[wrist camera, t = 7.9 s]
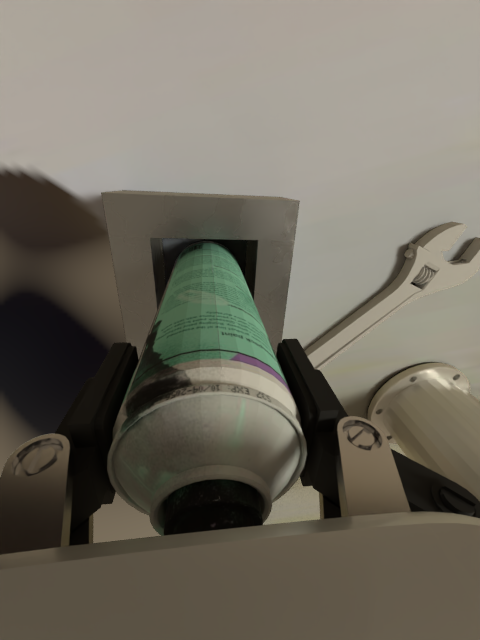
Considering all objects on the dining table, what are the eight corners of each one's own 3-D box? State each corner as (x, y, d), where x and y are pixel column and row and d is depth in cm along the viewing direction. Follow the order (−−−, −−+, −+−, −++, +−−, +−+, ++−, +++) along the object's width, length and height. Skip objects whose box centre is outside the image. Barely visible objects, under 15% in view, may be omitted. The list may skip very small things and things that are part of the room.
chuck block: (280, 197, 22) (299, 200, 17) (267, 328, 27) (279, 357, 23) (123, 190, 20) (101, 192, 16) (142, 331, 26) (129, 361, 21)
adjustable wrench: (273, 394, 32) (276, 405, 30) (239, 360, 29) (241, 370, 28) (478, 259, 27) (494, 264, 25) (460, 203, 24) (478, 205, 23)
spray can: (162, 285, 23) (15, 638, 5) (193, 226, 21) (130, 461, 3) (219, 313, 25) (254, 649, 7) (251, 262, 23) (413, 536, 5)
